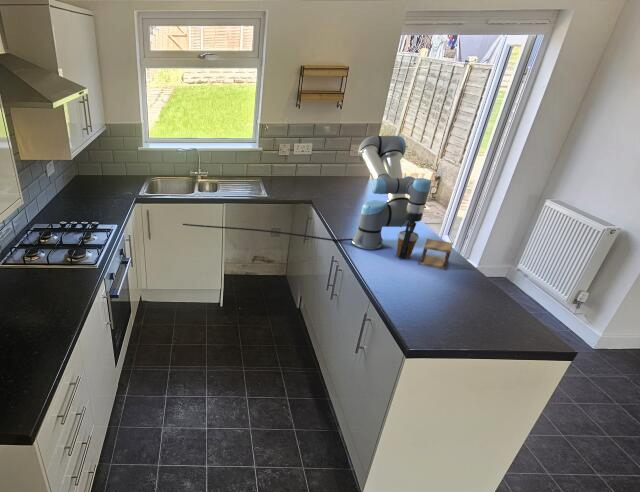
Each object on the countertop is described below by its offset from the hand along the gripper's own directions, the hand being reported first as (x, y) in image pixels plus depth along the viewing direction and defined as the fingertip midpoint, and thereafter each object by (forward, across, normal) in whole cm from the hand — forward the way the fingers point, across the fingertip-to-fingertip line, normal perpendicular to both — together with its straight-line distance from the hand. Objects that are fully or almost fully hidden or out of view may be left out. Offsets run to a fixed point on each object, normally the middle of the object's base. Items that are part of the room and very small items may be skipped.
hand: (403, 254), depth 221 cm
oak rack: (+1, 0, -14) cm, 14 cm away
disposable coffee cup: (+1, 0, 0) cm, 1 cm away
